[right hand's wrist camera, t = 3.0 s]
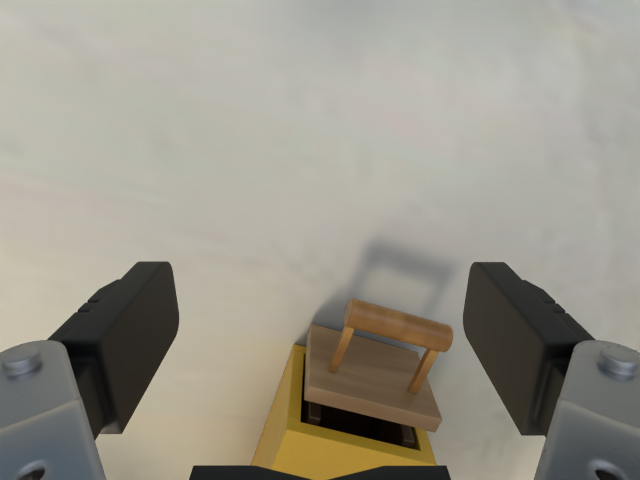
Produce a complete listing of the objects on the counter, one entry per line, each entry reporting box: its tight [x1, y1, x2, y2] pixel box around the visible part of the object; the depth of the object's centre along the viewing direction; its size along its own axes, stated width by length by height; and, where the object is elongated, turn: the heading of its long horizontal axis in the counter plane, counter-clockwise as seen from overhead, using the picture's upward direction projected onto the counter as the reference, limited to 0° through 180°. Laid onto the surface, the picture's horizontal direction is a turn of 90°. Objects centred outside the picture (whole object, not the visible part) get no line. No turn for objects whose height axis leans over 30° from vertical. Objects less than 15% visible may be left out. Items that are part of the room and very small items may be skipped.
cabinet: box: [251, 344, 436, 480], centre depth 34 cm, size 17×10×9 cm, turn 162°
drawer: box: [301, 298, 453, 449], centre depth 31 cm, size 21×9×7 cm, turn 162°
